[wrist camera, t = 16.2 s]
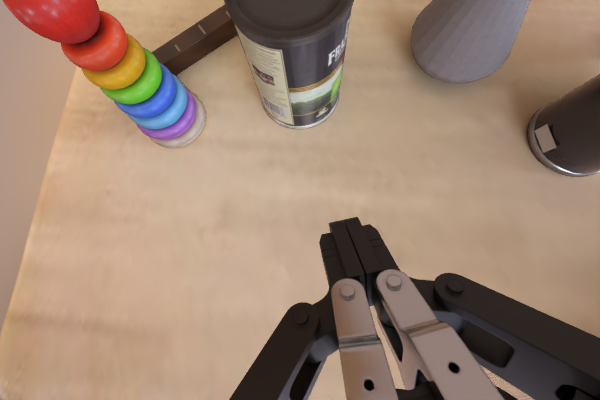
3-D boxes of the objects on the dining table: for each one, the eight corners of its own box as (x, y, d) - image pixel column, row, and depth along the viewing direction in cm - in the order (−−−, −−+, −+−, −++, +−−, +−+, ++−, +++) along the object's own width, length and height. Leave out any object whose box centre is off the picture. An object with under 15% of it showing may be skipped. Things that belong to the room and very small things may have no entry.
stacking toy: (220, 124, 33) (98, -34, 14) (171, 162, 32) (-22, 48, 14) (186, 84, 34) (36, -107, 16) (139, 119, 34) (-75, -35, 15)
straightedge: (284, -15, 36) (282, -35, 34) (295, -4, 36) (293, -23, 33) (120, 93, 34) (105, 81, 32) (129, 106, 34) (114, 95, 31)
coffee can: (345, 64, 33) (366, -67, 19) (331, 135, 31) (344, 48, 18) (270, 54, 34) (240, -77, 20) (253, 122, 32) (207, 30, 19)
